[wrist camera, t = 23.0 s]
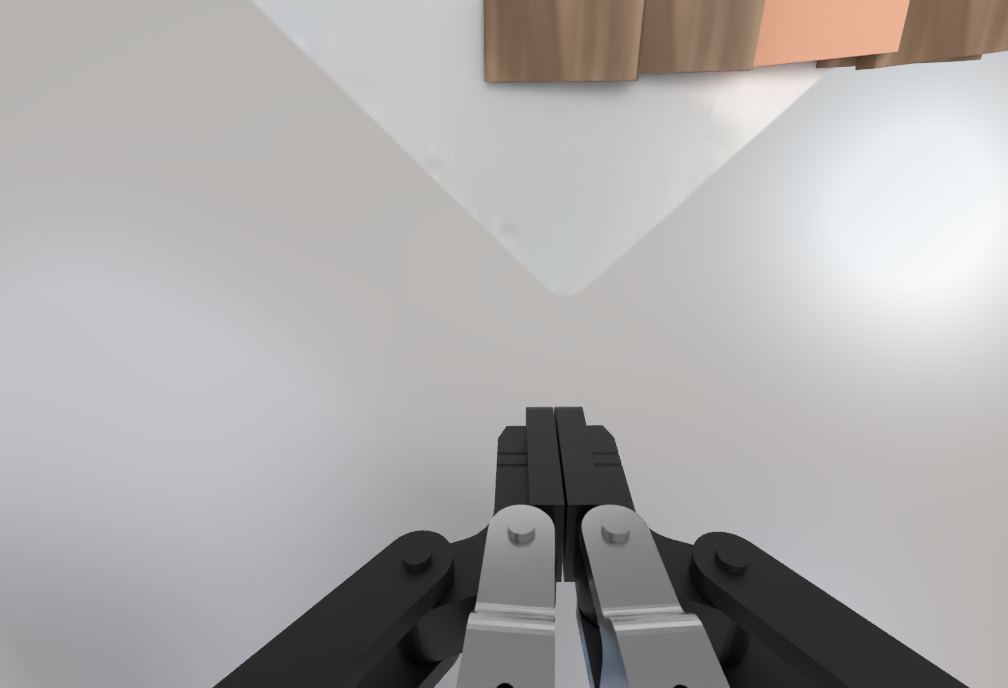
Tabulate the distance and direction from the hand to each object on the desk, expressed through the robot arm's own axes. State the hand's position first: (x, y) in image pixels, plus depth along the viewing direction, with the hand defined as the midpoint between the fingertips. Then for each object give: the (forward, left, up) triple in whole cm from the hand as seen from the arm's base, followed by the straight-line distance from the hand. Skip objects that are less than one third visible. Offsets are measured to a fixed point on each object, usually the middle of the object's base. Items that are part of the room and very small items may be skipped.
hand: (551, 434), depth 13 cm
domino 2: (+4, +12, -28) cm, 31 cm away
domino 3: (+13, +12, -28) cm, 33 cm away
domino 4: (+22, +12, -27) cm, 36 cm away
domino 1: (-3, +12, -28) cm, 30 cm away
